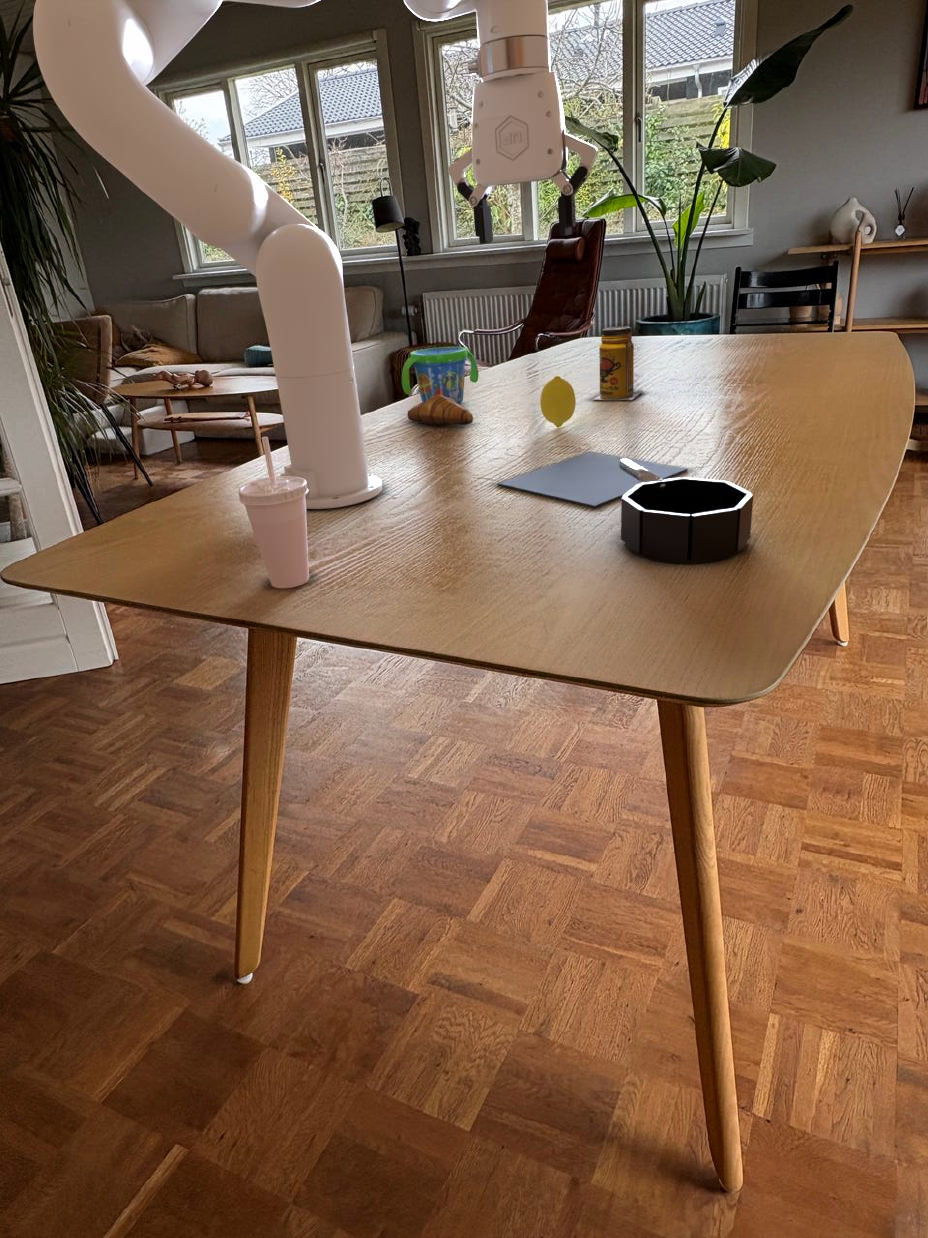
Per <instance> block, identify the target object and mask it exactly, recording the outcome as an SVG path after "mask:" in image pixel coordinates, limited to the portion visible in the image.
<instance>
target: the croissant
mask: <svg viewBox="0 0 928 1238" xmlns="http://www.w3.org/2000/svg"><path fill="white" fill-rule="evenodd" d="M407 419H408V420H410V421H411V422H415V423H422V424H428V425H447V426H448V425H449V426H466V425H471V424H472V423H473V421H474V416H473V413H472V412H470V410H469V409H467V408H466V407H465V406H463V405H462V404H461V405H460V404H457V403H456V401H455V400H454V399H451V398H447V397H445V396H442V395H439V394H437V395H435V396H433V397H431V398H429V399H428V400H427V401H426V402H422V401H421V402H420V403H418V404H416V405H414V406H412V407H411V408H410V409H409V410H407Z"/></svg>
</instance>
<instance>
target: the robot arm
mask: <svg viewBox="0 0 928 1238" xmlns="http://www.w3.org/2000/svg"><path fill="white" fill-rule="evenodd" d="M319 1H320V0H35V4H34V7H33V14H32V15H33V18H32V33H33V34H32V35H33V44H34V51H35V55H36V59H37V64H38V67H39V70H40V73H41V76H42V78H43V81H44V83H45V85H46V87H47V89H48V92H49V94H50V96H51V97H52V99H53V101H54V102H55V104H56V106H57V107H58V109H59V110H60V112H61V113H62V115H63V116H64V118H65V119H66V120H67V121H68V123H69V124H70V125H71V126H72V127H73V129H74V130H75V131H76V132H77V134H78V135H80V137H81V138H82V139H83V140H84V141H85V142H86V143H87V144H88V145H89V146H90V147H91V148H92V149H93V150H95V152H97V154H99V155H100V156H101V157H102V158H104V159H105V161H107V162H108V163H109V164H110V165H111V166H112V167H114V168H115V169H116V170H118V172H120V173H121V174H122V175H123V176H125V177H126V179H128V180H129V181H130V182H132V183H133V184H134V185H135V186H136V187H137V188H138V189H140V190H141V192H143V193H144V194H145V195H146V196H148V197H149V198H150V199H151V200H152V201H153V202H155V203H156V204H157V205H158V206H159V207H161V208H162V209H163V210H164V211H166V212H167V213H168V214H170V216H172V217H173V218H174V219H175V220H176V221H178V222H179V223H180V224H181V225H182V226H183V227H184V228H185V229H186V230H187V231H188V232H190V234H192V236H193V237H195V238H196V239H197V240H198V241H200V242H202V243H204V244H206V245H207V246H210V247H213V248H216V249H220V250H221V251H223V252H224V253H225V254H227V255H228V256H229V257H230V258H232V259H233V260H234V261H235V262H236V263H238V265H240V266H241V267H243V268H244V269H245V270H246V271H248V272H249V273H250V274H252V275H253V277H255V281H256V286H257V293H258V298H259V302H260V306H261V310H262V314H263V319H264V322H265V327H266V332H267V337H268V343H269V348H270V352H271V359H272V363H273V369H274V376H275V379H276V383H277V385H276V386H277V391H278V396H279V401H280V408H281V413H282V419H283V426H284V430H285V431H284V432H285V436H286V441H287V442H286V443H287V448H288V453H289V454H288V455H289V459H290V464H288V465H284V466H283V469H284V472H283V473H281V474H280V475H279V476H296V477H301V478H303V479H305V480H306V483H307V488H308V493H307V494H306V495H305V499H306V510H324V509H325V510H327V509H335V508H342V507H348V506H349V507H350V506H353V505H357V504H360V503H363V502H366V501H368V500H371V499H373V498H376V496H377V497H378V495H380V494H381V493H382V490H383V483H382V479H381V478H379V477H378V476H376V475H374V474H369V467H368V459H367V452H366V445H365V437H364V429H363V423H362V415H361V407H360V400H359V392H358V384H357V377H356V370H355V364H354V355H353V349H352V341H351V334H350V327H349V326H350V325H349V318H348V311H347V304H346V295H345V285H344V276H343V273H344V272H343V261H342V258H341V255H340V252H339V250H338V248H337V246H336V244H334V242H333V240H332V239H331V238H330V237H329V236H328V235H327V234H326V233H325V232H324V231H322V229H319V228H318V227H317V226H316V225H315V224H314V223H313V222H311V221H310V220H309V219H308V218H307V217H306V216H305V215H303V214H302V213H301V212H300V211H299V210H297V209H296V208H295V207H294V206H292V204H290V203H289V202H288V201H287V200H286V199H285V198H283V196H281V195H280V194H279V193H278V192H277V191H276V190H275V189H273V188H272V186H270V185H269V184H268V183H266V182H265V181H264V180H263V179H262V178H261V177H259V176H258V175H257V174H256V173H255V172H254V171H252V170H251V169H250V168H249V167H247V166H246V165H244V164H243V163H242V162H240V161H239V160H236V159H234V158H232V157H230V156H229V155H226V154H225V153H224V152H222V151H221V150H219V149H218V148H216V147H215V146H214V145H213V144H212V143H210V142H209V141H208V140H206V139H205V138H204V137H203V136H202V135H201V134H200V133H198V132H197V131H196V130H195V129H193V128H192V127H191V126H190V125H189V124H187V123H186V121H185V120H183V119H182V118H181V117H180V115H178V113H177V112H175V111H174V110H173V109H171V108H170V107H169V106H168V105H167V104H165V102H164V101H162V100H161V99H160V98H158V97H157V96H156V95H155V93H153V92H152V91H151V90H150V89H149V88H148V87H147V85H148V84H149V83H151V82H152V81H153V80H154V79H155V78H156V77H158V75H159V74H160V73H162V71H163V70H164V69H165V68H166V67H167V66H168V65H169V64H170V63H171V62H172V61H173V59H174V58H175V57H176V56H177V55H178V54H179V53H180V52H181V51H182V50H183V49H184V47H185V46H187V44H188V43H190V41H191V40H192V39H193V38H194V37H195V36H196V35H197V34H198V33H199V32H200V30H201V29H202V28H203V27H204V25H206V23H207V22H208V21H209V20H210V19H211V17H212V16H213V15H214V14H215V12H216V11H217V10H218V9H219V7H220V6H221V4H222V2H235V3H236V2H237V3H246V4H258V5H266V6H273V7H282V8H302V7H306V6H310V5H313V4H315V3H317V2H319ZM403 2H404V4H405V6H406V7H407V8H408V9H409V11H411V12H412V14H414V15H415V16H416V17H418V18H420V19H422V20H425V21H431V22H438V21H444V20H445V21H446V20H449V19H452V18H456V17H460V16H463V15H466V14H470V13H474V12H475V17H476V30H477V43H478V49H477V50H476V52H477V53H476V57H474V59H470V60H468V62H467V71H468V74H469V75H470V76H472V75H476V76H478V79H480V82H478V83H475V84H474V85H473V92H472V103H471V104H472V105H471V108H472V109H471V148H470V149H468V151H466V152H465V153H463V154H462V155H461V156H460V157H459V158H457V159H456V160H455V161H454V162H453V163H452V164H450V165H449V166H448V168H447V173H448V175H449V177H450V179H451V181H452V183H453V184H454V186H455V187H456V189H457V192H458V193H459V195H460V196H462V198H464V199H465V200H466V201H467V202H468V204H469V206H470V207H472V209H473V210H472V211H473V222H474V232H475V236H476V237H477V238H478V241H479V244H480V245H486V244H492V242H493V241H494V231H493V219H492V218H493V216H492V207H491V206H490V205H488V200H489V198H490V196H491V194H492V193H493V191H494V189H495V188H496V187H498V186H499V187H500V186H509V185H517V184H524V183H534V182H541V181H548V180H551V181H552V182H553V183H554V184H555V186H556V187H557V188H558V189H559V191H560V196H559V197H558V198H557V211H558V212H557V213H558V233H559V235H560V236H561V237H564V236H570V235H572V228H575V227H576V224H577V223H576V221H577V220H576V195H577V194H578V193H579V190H580V188H581V187H582V186H583V185H584V183H585V182H586V180H588V178H589V176H590V175H591V170H592V168H593V166H594V163H595V161H596V158H597V157H598V152H599V149H598V148H597V146H595V145H594V144H590V143H589V142H586V141H584V140H582V139H579V138H578V137H575V136H574V135H571V134H568V133H566V124H565V115H564V108H563V100H562V96H561V90H560V89H561V88H560V84H559V81H558V76H557V74H556V73H555V72H554V71H551V53H550V33H549V31H550V30H549V11H548V8H549V7H548V0H403ZM568 150H570V151H572V152H574V153H576V154H578V155H580V161H579V165H578V166H577V168H576V170H575V171H574V173H573V174H572V175H571V176H570V175H569V174H568V172H566V171H567V169H568ZM470 167H472V175H473V179H474V181H475V182H476V183H477V184H476V186H475V187H474V186H473V185H472V184H471V183H470V182H469V181H468V179H467V176H466V171H467V170H468V169H469V168H470Z"/></svg>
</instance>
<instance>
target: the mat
mask: <svg viewBox="0 0 928 1238" xmlns="http://www.w3.org/2000/svg"><path fill="white" fill-rule="evenodd" d="M624 458H625V457H622V456H616V455H610V454H605V453H599V452H594V451H587V452H585V453H583V454H579V455H577V456H573V457H571V458H568V459H567V458H566V459H565V460H561V461H559V462H555V463H553V464H550V465H547V466H544V467H541V468H539V469H536V470H535V469H534V470H533V471H529V472H527V473H524V474H520V475H518V476H515V477H512V478H509V479H506V480H503V481H500V482H497V486H499V487H503V488H507V489H512V490H515V491H519V492H524V493H528V494H532V495H537V496H540V497H546V498H549V499H554V500H558V501H562V502H567V503H571V504H575V505H578V506H579V505H580V506H584V507H588V508H593V509H597V508H599V507H602V506H605V505H607V504H609V503H611V502H614V501H616V500H619V499H621V496H623V495H624V494H625V493H627V492H628V491H629V490H631V489H632V488H633V487H635V486H636V485H637V484H641V483H642V482H640V481H639V480H637V479H635V478H634V477H632V476H631V475H629V474H627V473H626V472H624V471H623V470H621V469H620V468H619V462H620V460H622V459H624ZM626 458H627V459H629V460H631V461H632V462H634V463H636V464H638V465H639V466H641V467H643V468H644V469H646V470H648V471H650V472H651V473H653V474H655V475H656V476H658V477H660V478H662V479H663V480H666V479H672V478H674V477H676V476H678V475H681V474H684V473H686V472H688V468H685V467H680V466H675V465H674V466H673V465H668V464H664V463H663V464H662V463H657V462H651V461H646V460H645V461H644V460H639V459H634V458H628V457H626Z"/></svg>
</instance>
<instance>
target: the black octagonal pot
mask: <svg viewBox="0 0 928 1238" xmlns="http://www.w3.org/2000/svg"><path fill="white" fill-rule="evenodd" d="M623 458H624V459H622V460H620V462H619V468H620V469H621V470H623V471H624V472H626V473H627V474H629V475H631V476H632V477H634V478H635V479H637V480H639V481H640V482H642V483H641V484H637V485H636V486H635V487H633V488H632V489H631V490H629V491H628V492H627V493H625V494H624V495H623V496H621V498H620V499H621V500H620V501H621V502H620V504H621V505H620V506H621V507H620V509H621V510H620V524H621V525H620V540H621V541H623V543H624V544H625V547H626V548H627V549H628V551H630V552H631V553H633V554H634V555H636V556H639V557H641V558H643V559H647V560H650V561H655V562H661V563H668V564H679V565H680V564H682V565H689V564H690V565H693V564H697V565H699V564H707V563H714V562H720V561H723V560H727V559H730V558H732V557H735V556H736V555H739V554H740V553H742V551H743V550H744V549H745V548H746V546H747V542H748V541H749V540H750V539H751V531H752V519H753V518H752V517H753V507H754V506H753V505H754V494H753V492H751V491H749V490H747V489H745V488H743V487H741V486H739V485H737V484H735V483H733V482H731V481H727V480H721V479H711V478H695V477H686V476H684V477H671V478H668V479H666V480H663V479H662V478H660V477H658V476H656V475H655V474H653V473H651V472H650V471H648V470H646V469H644V468H643V467H641V466H639V465H638V464H636V463H634V462H632V461H631V460H629V459H630V458H628V457H623ZM627 458H628V459H627Z"/></svg>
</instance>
